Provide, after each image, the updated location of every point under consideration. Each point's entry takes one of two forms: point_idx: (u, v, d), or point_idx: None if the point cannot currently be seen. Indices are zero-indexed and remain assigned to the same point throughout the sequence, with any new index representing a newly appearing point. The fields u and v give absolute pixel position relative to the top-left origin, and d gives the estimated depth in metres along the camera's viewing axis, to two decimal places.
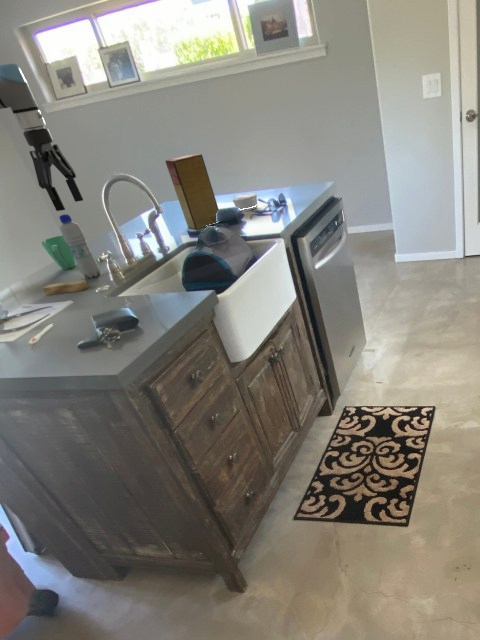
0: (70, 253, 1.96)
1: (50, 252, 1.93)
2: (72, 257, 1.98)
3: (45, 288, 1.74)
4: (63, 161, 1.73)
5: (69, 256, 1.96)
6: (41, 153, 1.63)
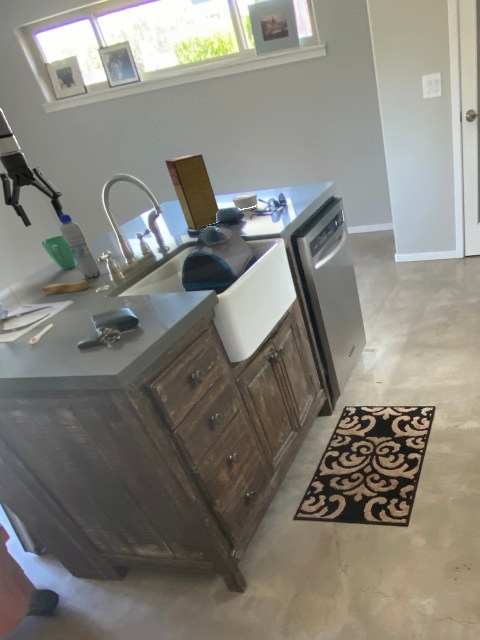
0: (70, 253, 1.96)
1: (50, 252, 1.93)
2: (72, 257, 1.98)
3: (45, 288, 1.74)
4: (9, 189, 1.82)
5: (69, 256, 1.96)
6: None
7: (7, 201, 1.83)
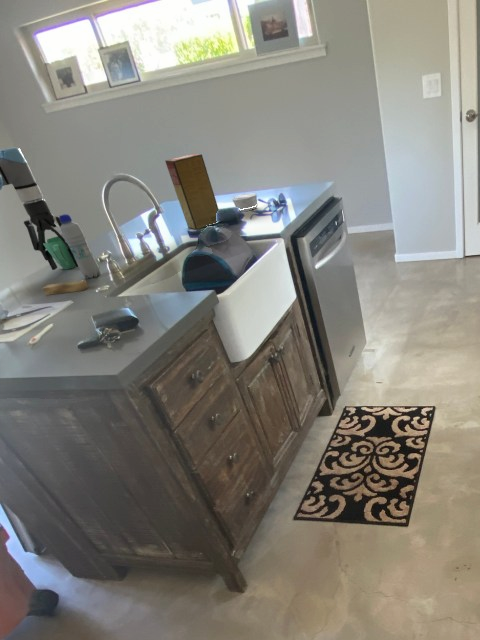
0: None
1: (51, 252, 1.93)
2: None
3: (45, 288, 1.74)
4: (35, 234, 1.91)
5: (70, 256, 1.96)
6: None
7: (35, 246, 1.93)
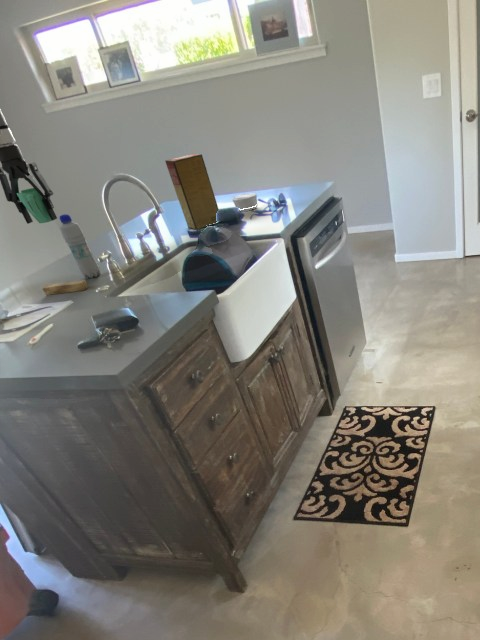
0: None
1: (26, 203, 1.82)
2: None
3: (45, 288, 1.74)
4: (8, 184, 1.80)
5: None
6: None
7: (8, 197, 1.81)
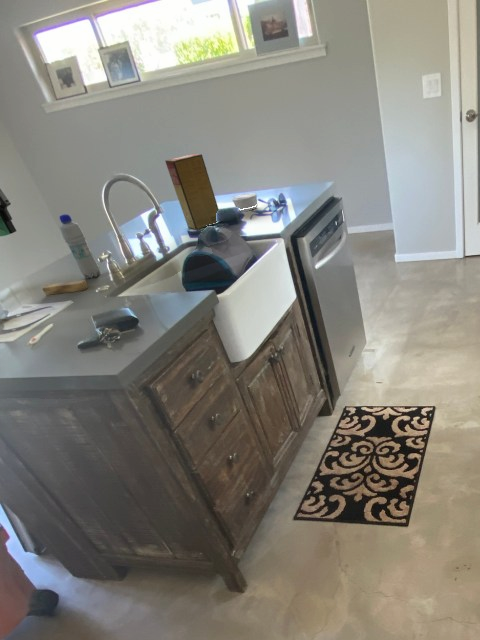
0: None
1: None
2: None
3: (45, 288, 1.74)
4: None
5: None
6: None
7: None
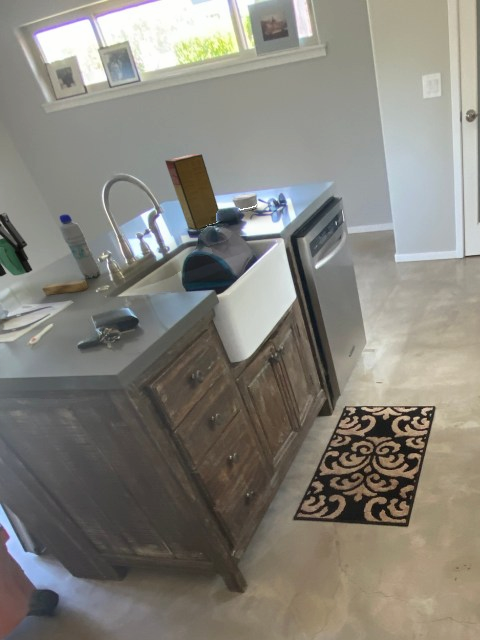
0: None
1: None
2: None
3: (45, 288, 1.74)
4: None
5: None
6: None
7: None
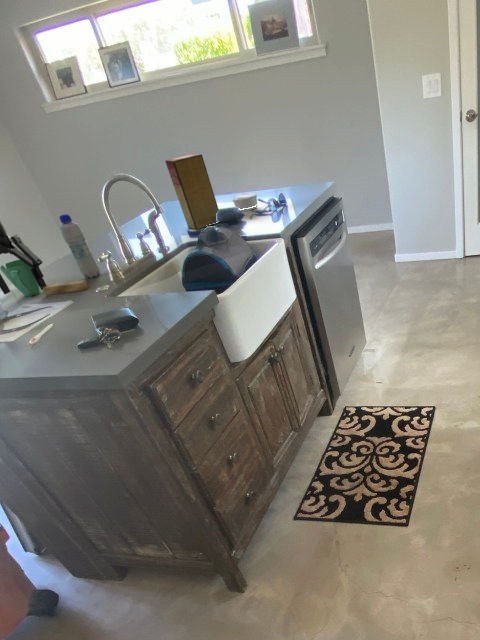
0: (33, 279, 1.75)
1: (10, 278, 1.72)
2: (36, 283, 1.76)
3: (45, 288, 1.74)
4: None
5: (32, 282, 1.75)
6: None
7: None
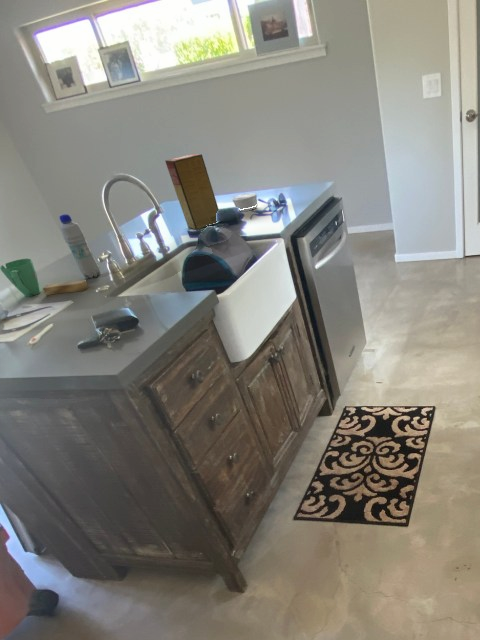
0: (33, 279, 1.75)
1: (10, 278, 1.72)
2: (36, 283, 1.76)
3: (45, 288, 1.74)
4: None
5: (32, 282, 1.75)
6: None
7: None
